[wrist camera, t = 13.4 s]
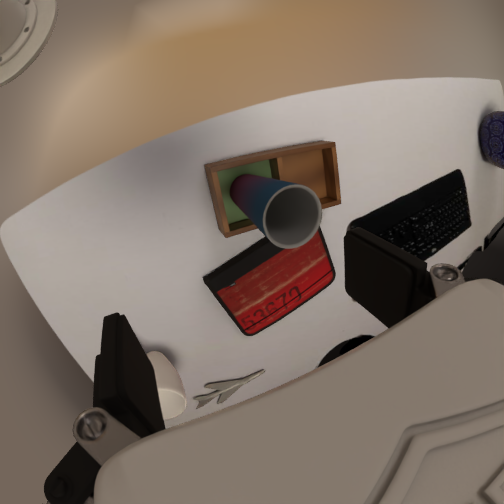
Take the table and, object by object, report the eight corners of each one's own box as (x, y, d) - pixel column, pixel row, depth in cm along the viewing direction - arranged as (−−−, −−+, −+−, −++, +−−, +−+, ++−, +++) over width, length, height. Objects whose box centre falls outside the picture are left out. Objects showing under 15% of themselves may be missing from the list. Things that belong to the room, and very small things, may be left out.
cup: (262, 215, 45) (313, 251, 32) (219, 210, 42) (256, 246, 29) (271, 172, 43) (328, 190, 30) (228, 164, 40) (270, 178, 27)
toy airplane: (269, 378, 61) (273, 385, 59) (186, 415, 57) (188, 422, 55) (259, 358, 58) (263, 365, 56) (170, 398, 54) (171, 406, 52)
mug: (184, 362, 52) (197, 407, 42) (150, 380, 51) (157, 426, 41) (146, 321, 46) (151, 367, 36) (110, 342, 45) (108, 390, 35)
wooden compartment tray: (204, 164, 40) (209, 167, 36) (321, 140, 45) (335, 141, 41) (219, 229, 44) (225, 238, 41) (327, 198, 49) (341, 203, 46)
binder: (204, 284, 44) (315, 211, 46) (201, 277, 46) (308, 207, 48) (249, 342, 53) (340, 279, 55) (244, 334, 55) (333, 274, 57)
